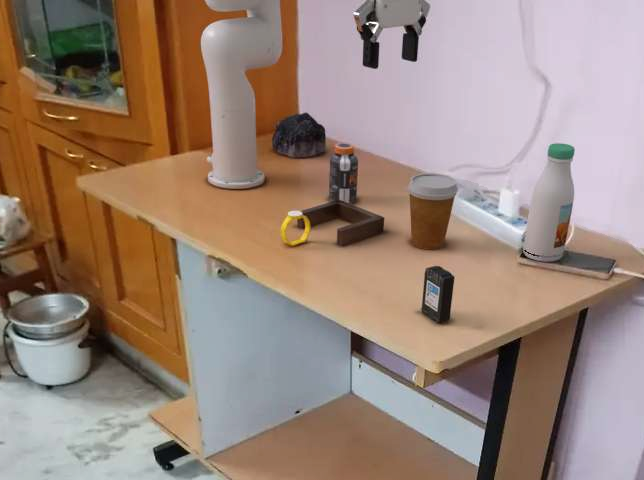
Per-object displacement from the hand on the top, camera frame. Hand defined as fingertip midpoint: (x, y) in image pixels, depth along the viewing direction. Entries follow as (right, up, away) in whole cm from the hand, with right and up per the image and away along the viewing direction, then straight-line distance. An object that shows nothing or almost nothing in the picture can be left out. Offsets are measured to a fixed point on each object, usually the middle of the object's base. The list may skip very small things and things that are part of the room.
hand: (390, 63), depth 145 cm
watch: (-17, -26, +16) cm, 35 cm away
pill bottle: (-9, -11, +37) cm, 39 cm away
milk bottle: (+30, -28, +17) cm, 44 cm away
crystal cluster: (-20, +11, +63) cm, 67 cm away
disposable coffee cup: (+8, -25, +19) cm, 33 cm away
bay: (-10, -21, +23) cm, 33 cm away
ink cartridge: (+7, -45, -6) cm, 46 cm away
